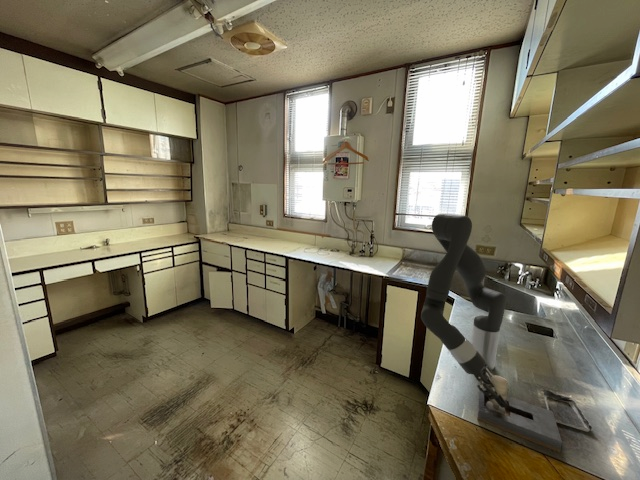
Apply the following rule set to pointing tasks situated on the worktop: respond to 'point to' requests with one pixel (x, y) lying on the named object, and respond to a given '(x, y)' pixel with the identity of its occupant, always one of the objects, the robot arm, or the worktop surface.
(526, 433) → the keyhole board
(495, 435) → the worktop surface
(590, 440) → the worktop surface
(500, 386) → the keyhole peg
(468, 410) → the worktop surface
